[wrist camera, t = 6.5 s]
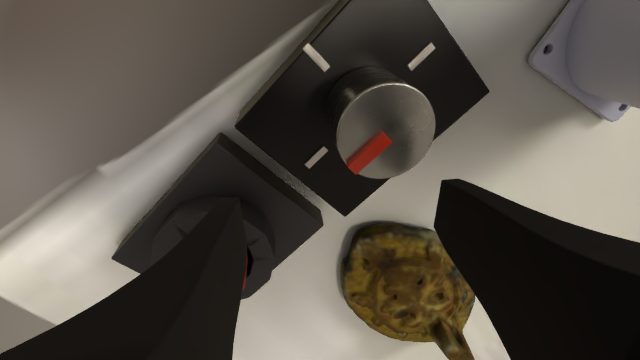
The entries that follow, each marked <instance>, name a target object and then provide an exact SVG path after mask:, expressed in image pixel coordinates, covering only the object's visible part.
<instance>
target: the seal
mask: <svg viewBox="0 0 640 360" xmlns="http://www.w3.org/2000/svg"><path fill="white" fill-rule="evenodd" d="M341 285H342V290H343V295H344V298H345V300H346V302H347V304H348V306H349V307H350V308H351V309H352V310H353V311H354V312H355V314H356V315H357V316H358V317H359V318H360V319H361V320H363V321H364V322H365V323H366V324H367V325H368V326H369V327H370V328H372V329H374V330H376V331H377V332H379V333H381V334H383V335H385V336H387V337H390V338H394V339H398V340H401V341H413V342H435V343H436V344H437V345H438V346H439V348H440V349H441V350H442V352H443V353H444V354H445V356H446V357H447V358H448V359H449V360H474V357H473V355H472V353H471V350H470V348H469V346H468V344H467V342H466V340H465V338H464V335H463V331H462V330H463V328H464V326H465V324H466V322H467V320H468V318H469V316H470V313H471V310H472V307H473V305H474V302H475V294H474V292H473V291H472V289H471V288H470V286H469V285H468V284H467V282H466V281H465V279H464V278H463V276H462V275H461V273H460V272H459V270H458V269H457V267H456V266H455V264H454V263H453V261H452V260H451V258H450V257H449V255H448V254H447V252H446V251H445V249H444V247H443V245H442V243H441V241H440V239H439V237H438V235H437V233H436V232H433V231H431V230H428V229H419V228H414V227H407V226H403V225H396V224H394V225H381V224H380V225H373V226H369V227H366V228H363V229H361V230H358V231H357V232H356V233H355V235H354V236H353V239H352V243H351V246H350V249H349V253H348V256H347V257H346V258H344V259H343V261H342V265H341Z"/></svg>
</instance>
